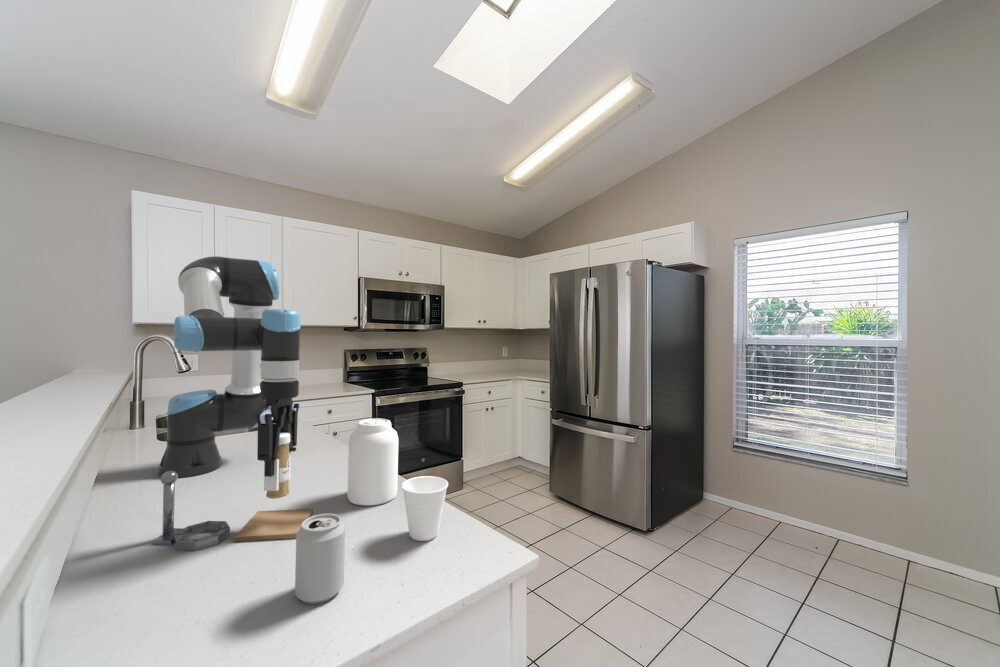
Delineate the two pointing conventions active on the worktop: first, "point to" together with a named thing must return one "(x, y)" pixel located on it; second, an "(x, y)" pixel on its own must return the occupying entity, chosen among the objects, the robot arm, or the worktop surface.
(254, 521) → the coaster
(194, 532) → the ring stand
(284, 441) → the sprinkles bottle
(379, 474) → the white jar
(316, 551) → the can
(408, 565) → the worktop surface
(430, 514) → the cup
